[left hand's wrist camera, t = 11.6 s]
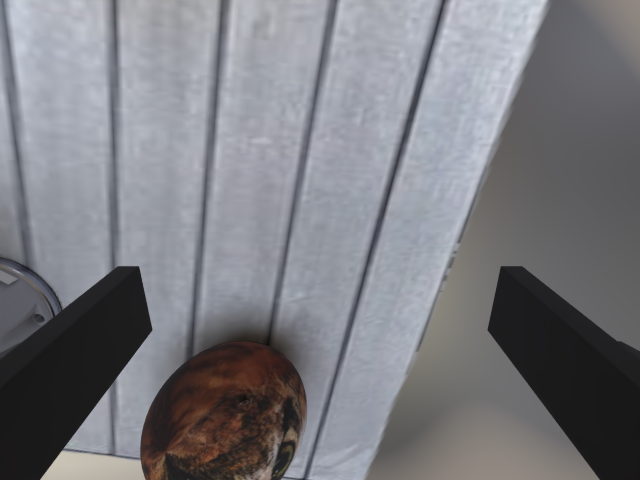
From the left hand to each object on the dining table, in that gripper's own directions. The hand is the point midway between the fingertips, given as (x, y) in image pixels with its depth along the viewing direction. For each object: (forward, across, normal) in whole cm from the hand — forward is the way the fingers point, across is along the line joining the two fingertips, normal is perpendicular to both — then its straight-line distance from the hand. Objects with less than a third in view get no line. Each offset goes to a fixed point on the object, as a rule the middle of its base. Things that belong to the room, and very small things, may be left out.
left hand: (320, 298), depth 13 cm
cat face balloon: (+29, +12, +29) cm, 43 cm away
